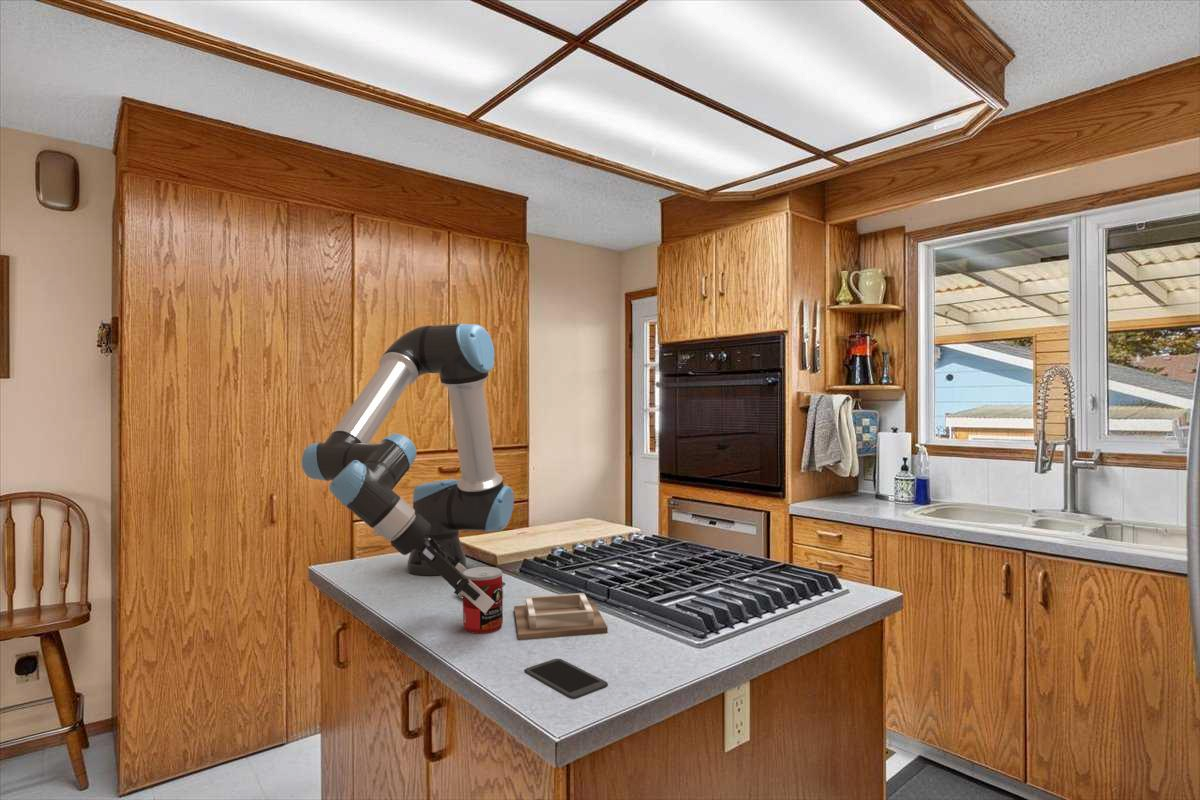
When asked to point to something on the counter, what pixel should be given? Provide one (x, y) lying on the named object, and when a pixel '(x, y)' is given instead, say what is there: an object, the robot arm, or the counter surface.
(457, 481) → the robot arm
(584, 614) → the socket board
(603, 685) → the cell phone
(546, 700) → the counter surface
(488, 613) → the canned food
